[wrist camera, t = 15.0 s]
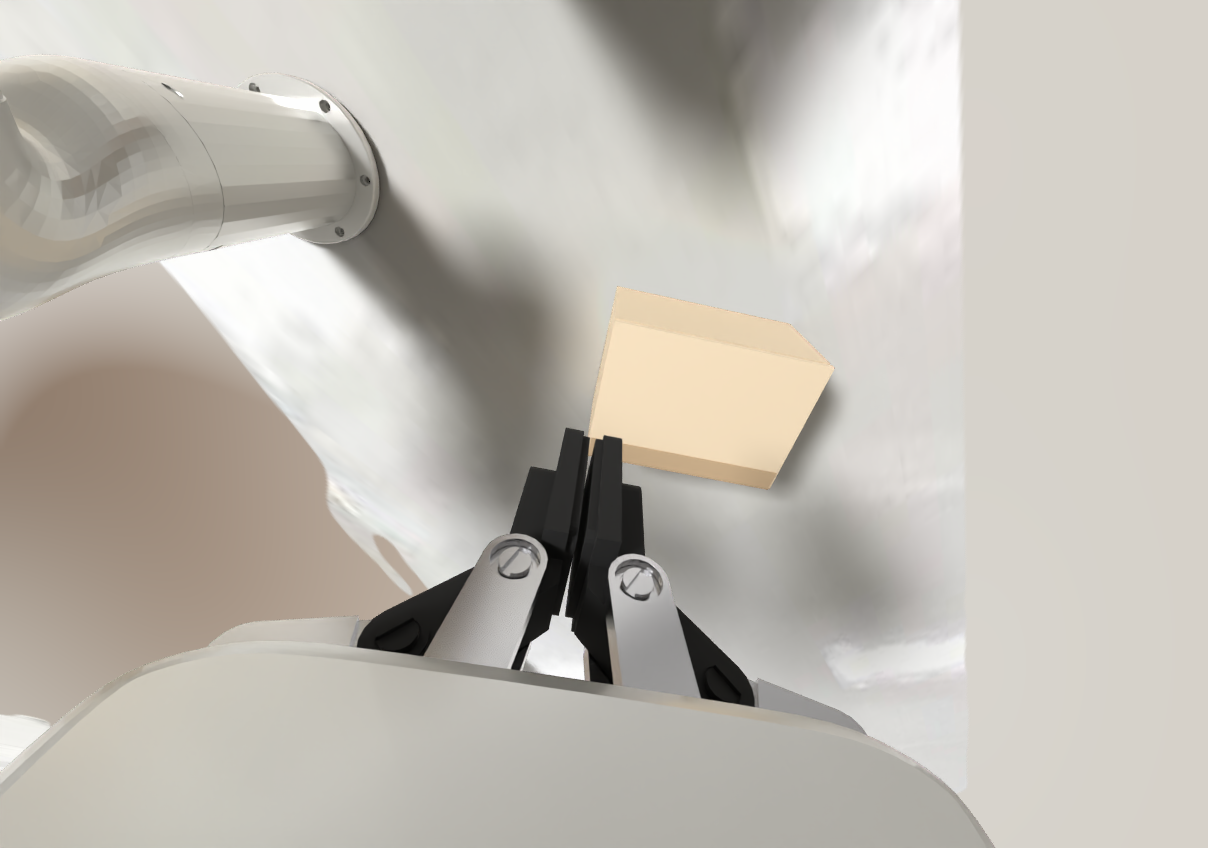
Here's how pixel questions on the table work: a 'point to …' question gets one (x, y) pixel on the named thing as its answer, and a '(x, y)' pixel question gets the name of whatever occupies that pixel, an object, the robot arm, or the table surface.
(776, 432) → the lid
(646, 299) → the carton
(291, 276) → the table surface
